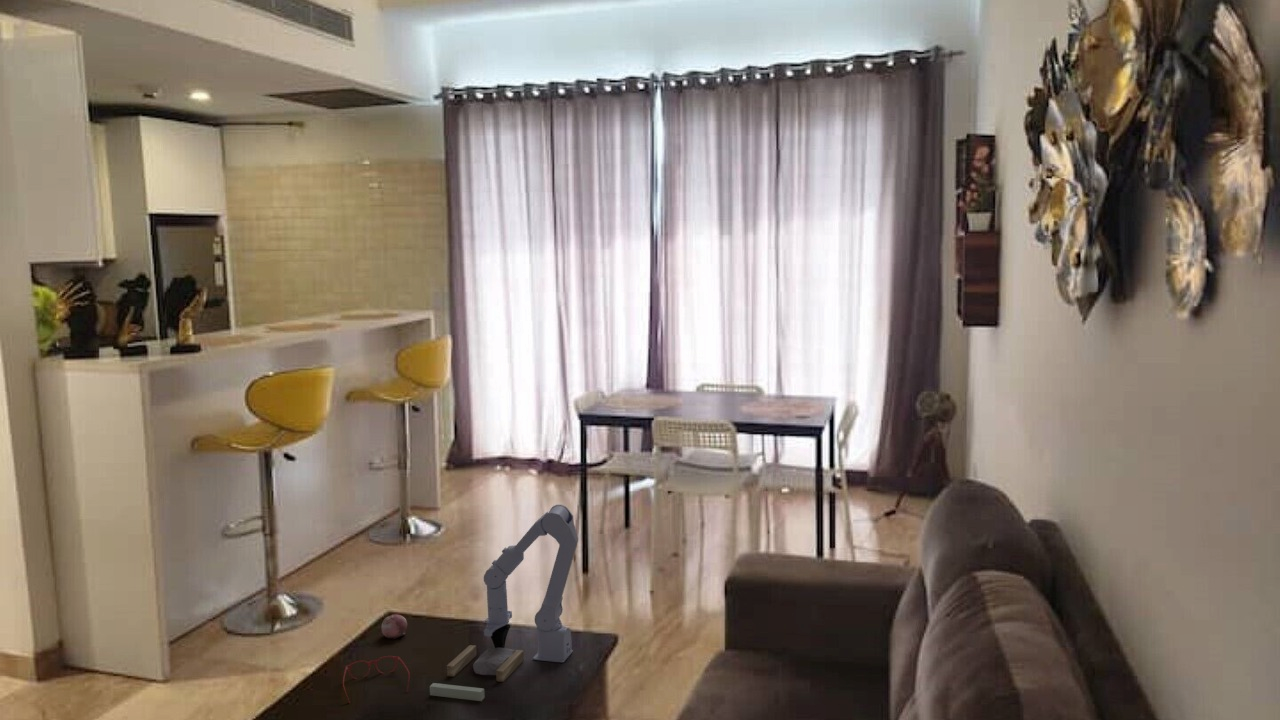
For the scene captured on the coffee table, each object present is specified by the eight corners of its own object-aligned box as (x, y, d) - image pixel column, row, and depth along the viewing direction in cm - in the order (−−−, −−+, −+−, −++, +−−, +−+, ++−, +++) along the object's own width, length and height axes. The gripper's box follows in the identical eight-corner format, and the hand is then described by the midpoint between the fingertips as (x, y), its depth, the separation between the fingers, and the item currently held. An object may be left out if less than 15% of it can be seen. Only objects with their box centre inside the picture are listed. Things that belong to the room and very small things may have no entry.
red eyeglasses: (404, 669, 265) (403, 652, 264) (412, 693, 250) (411, 675, 249) (341, 681, 259) (340, 663, 258) (345, 706, 244) (343, 688, 243)
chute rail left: (476, 655, 271) (476, 645, 271) (453, 676, 258) (453, 666, 258) (470, 654, 272) (469, 645, 272) (447, 675, 259) (446, 665, 258)
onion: (381, 644, 284) (373, 621, 284) (391, 636, 292) (384, 614, 292) (404, 636, 283) (396, 614, 283) (414, 629, 290) (407, 607, 291)
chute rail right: (523, 660, 267) (523, 650, 267) (503, 681, 254) (502, 671, 253) (517, 659, 268) (516, 649, 267) (496, 681, 254) (496, 670, 254)
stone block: (471, 680, 260) (504, 676, 257) (468, 664, 259) (500, 659, 257) (488, 664, 271) (519, 659, 269) (484, 648, 271) (516, 643, 269)
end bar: (484, 697, 245) (484, 688, 245) (481, 701, 243) (480, 692, 243) (433, 691, 249) (433, 682, 249) (430, 695, 247) (429, 686, 247)
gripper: (495, 595, 278) (498, 639, 280) (473, 613, 264) (476, 659, 266) (517, 597, 276) (519, 641, 278) (496, 615, 262) (498, 661, 264)
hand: (499, 650), depth 272 cm, fingers closed
